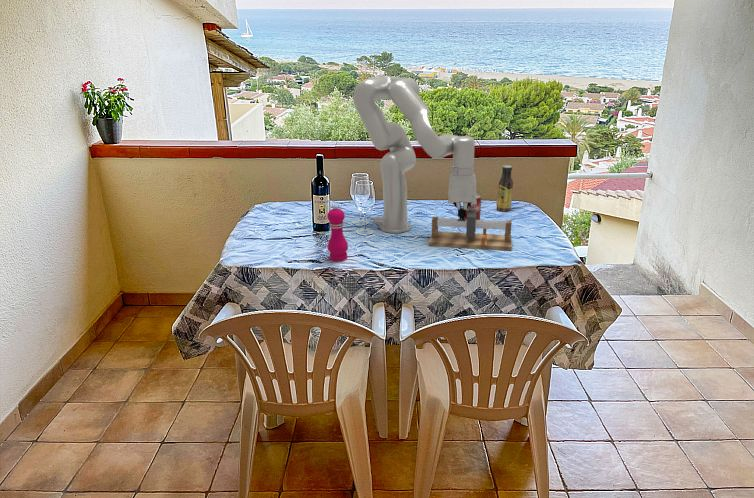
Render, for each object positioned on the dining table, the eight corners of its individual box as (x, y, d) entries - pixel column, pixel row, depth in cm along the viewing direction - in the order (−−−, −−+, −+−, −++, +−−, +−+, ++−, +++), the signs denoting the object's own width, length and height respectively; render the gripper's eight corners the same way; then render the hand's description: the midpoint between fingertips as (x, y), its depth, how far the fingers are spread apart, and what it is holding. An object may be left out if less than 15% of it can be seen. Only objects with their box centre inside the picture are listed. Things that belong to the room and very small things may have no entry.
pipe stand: (428, 245, 194) (428, 223, 190) (432, 234, 205) (433, 212, 201) (511, 250, 187) (513, 227, 184) (511, 239, 198) (512, 216, 195)
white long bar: (437, 226, 195) (437, 220, 194) (437, 223, 197) (438, 217, 196) (505, 229, 190) (505, 223, 189) (505, 227, 192) (505, 221, 191)
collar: (466, 237, 191) (466, 216, 188) (467, 229, 199) (468, 209, 196) (474, 237, 191) (475, 217, 188) (475, 230, 198) (476, 210, 195)
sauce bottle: (493, 208, 233) (496, 165, 226) (506, 207, 235) (509, 163, 227) (501, 212, 227) (504, 168, 220) (513, 211, 229) (517, 166, 222)
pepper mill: (348, 254, 189) (346, 201, 181) (348, 261, 182) (345, 207, 174) (328, 254, 188) (325, 201, 181) (327, 262, 182) (324, 208, 174)
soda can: (479, 227, 211) (481, 199, 207) (461, 226, 213) (462, 198, 208) (480, 221, 218) (481, 193, 213) (462, 220, 219) (463, 193, 215)
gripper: (441, 173, 188) (440, 221, 195) (483, 173, 184) (481, 222, 191) (443, 168, 194) (443, 214, 201) (484, 169, 191) (482, 216, 198)
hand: (461, 218), depth 196 cm, fingers closed
